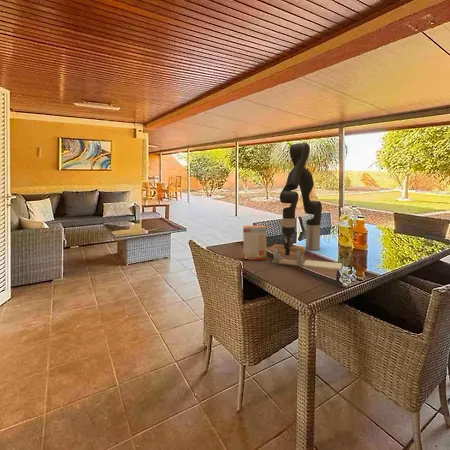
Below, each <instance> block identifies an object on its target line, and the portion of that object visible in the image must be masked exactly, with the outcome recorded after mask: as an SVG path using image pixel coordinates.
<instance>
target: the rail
mask: <svg viewBox="0 0 450 450" xmlns="http://www.w3.org/2000/svg"><path fill="white" fill-rule="evenodd" d="M286 247H288V246H286ZM274 248H278V253H281V254H285V255H286V249H285V248H284V244H273V245H272V253H273V254H274ZM297 250H302V252H301V255H303V256H304V255H305V253H306V251H305V250H306V246H300V245H292V246H290V255H296V256H297Z"/></svg>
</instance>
